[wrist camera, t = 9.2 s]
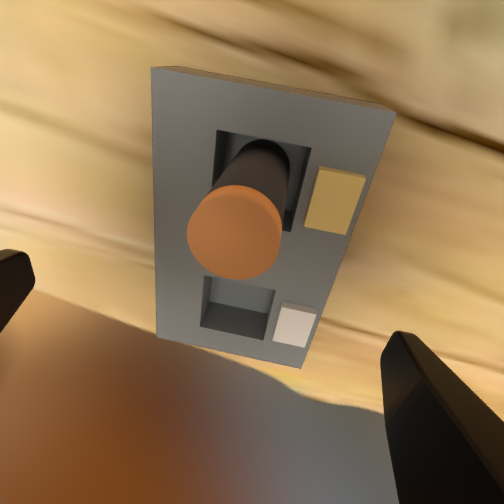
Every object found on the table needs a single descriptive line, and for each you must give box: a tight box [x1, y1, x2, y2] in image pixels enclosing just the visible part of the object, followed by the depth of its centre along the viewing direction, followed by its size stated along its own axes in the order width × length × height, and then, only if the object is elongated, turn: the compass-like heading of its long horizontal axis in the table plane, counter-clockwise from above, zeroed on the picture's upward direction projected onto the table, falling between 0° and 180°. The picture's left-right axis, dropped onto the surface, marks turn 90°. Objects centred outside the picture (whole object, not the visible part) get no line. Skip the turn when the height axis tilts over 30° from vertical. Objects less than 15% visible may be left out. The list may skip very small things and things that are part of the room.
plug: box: [187, 139, 290, 280], centre depth 13 cm, size 3×3×8 cm
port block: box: [151, 66, 397, 369], centre depth 18 cm, size 10×16×4 cm, turn 171°
